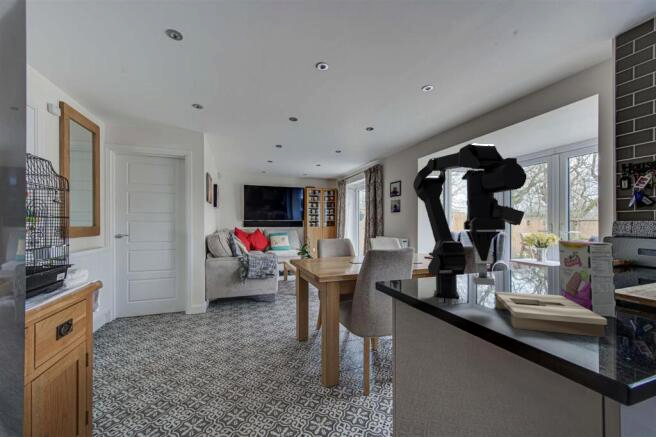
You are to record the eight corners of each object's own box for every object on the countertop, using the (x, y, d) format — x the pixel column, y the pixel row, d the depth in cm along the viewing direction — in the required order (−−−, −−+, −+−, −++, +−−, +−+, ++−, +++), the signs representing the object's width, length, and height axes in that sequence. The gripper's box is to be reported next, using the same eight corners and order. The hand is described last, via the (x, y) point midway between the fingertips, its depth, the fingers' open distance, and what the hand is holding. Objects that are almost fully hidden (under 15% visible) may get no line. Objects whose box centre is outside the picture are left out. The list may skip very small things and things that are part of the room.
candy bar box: (559, 303, 72) (557, 240, 73) (582, 304, 71) (579, 240, 72) (591, 317, 61) (588, 242, 62) (618, 318, 60) (614, 242, 61)
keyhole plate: (494, 305, 71) (494, 291, 71) (561, 310, 66) (561, 295, 66) (515, 330, 54) (515, 311, 54) (607, 339, 49) (606, 319, 50)
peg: (472, 281, 69) (471, 241, 70) (491, 282, 68) (489, 241, 68) (475, 284, 65) (473, 241, 66) (494, 285, 64) (493, 242, 64)
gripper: (533, 188, 56) (536, 266, 55) (509, 197, 73) (511, 257, 73) (471, 191, 60) (473, 264, 59) (462, 199, 77) (464, 256, 77)
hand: (482, 260), depth 67 cm, fingers closed on peg, 4 cm apart
